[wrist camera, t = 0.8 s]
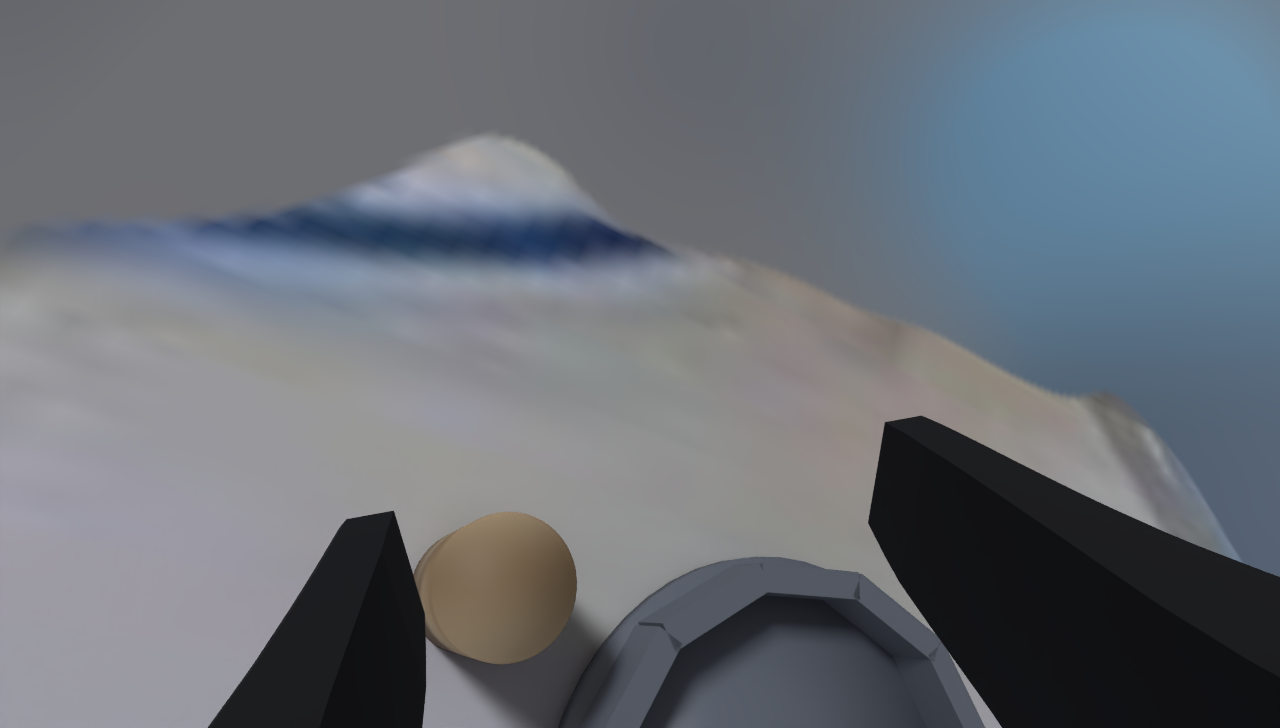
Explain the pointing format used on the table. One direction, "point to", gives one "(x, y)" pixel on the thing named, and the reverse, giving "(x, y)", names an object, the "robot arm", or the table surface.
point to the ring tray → (770, 656)
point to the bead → (497, 588)
